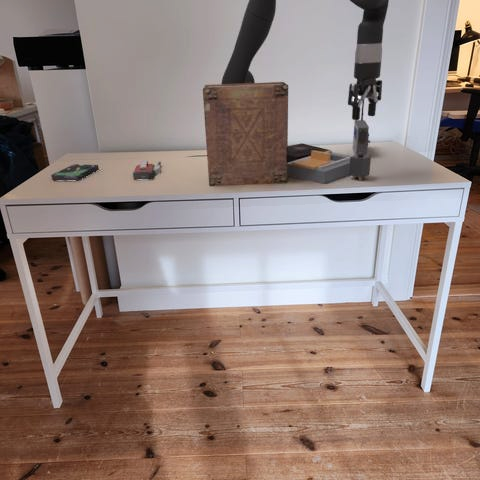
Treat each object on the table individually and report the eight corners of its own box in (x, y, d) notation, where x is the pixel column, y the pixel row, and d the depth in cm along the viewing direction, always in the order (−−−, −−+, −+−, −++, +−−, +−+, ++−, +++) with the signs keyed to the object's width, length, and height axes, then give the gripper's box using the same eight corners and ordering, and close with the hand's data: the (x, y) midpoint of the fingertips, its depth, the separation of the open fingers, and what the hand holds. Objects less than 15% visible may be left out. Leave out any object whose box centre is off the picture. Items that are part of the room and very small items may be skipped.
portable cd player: (300, 152, 180) (300, 143, 178) (330, 160, 167) (330, 150, 165) (268, 159, 172) (268, 149, 170) (296, 168, 158) (297, 157, 157)
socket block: (285, 174, 149) (285, 160, 147) (325, 162, 163) (325, 149, 161) (323, 183, 138) (324, 169, 136) (362, 169, 152) (363, 155, 150)
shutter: (292, 165, 145) (292, 155, 143) (310, 159, 151) (311, 149, 149) (314, 169, 139) (314, 159, 137) (332, 163, 145) (333, 153, 143)
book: (208, 186, 141) (201, 87, 128) (209, 178, 149) (203, 84, 137) (287, 183, 141) (288, 84, 128) (284, 175, 149) (284, 81, 137)
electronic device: (352, 148, 182) (355, 98, 174) (369, 148, 181) (373, 97, 172) (355, 158, 166) (359, 104, 158) (374, 158, 165) (379, 103, 157)
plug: (348, 178, 142) (350, 153, 139) (356, 175, 145) (358, 150, 142) (361, 181, 139) (363, 155, 136) (369, 178, 142) (371, 152, 139)
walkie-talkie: (158, 180, 149) (163, 165, 168) (157, 168, 148) (161, 154, 166) (132, 182, 149) (139, 167, 167) (130, 169, 147) (138, 155, 165)
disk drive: (74, 171, 166) (51, 182, 153) (73, 164, 165) (50, 174, 152) (99, 171, 164) (79, 182, 151) (98, 164, 163) (77, 175, 150)
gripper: (370, 59, 135) (365, 113, 141) (342, 62, 126) (339, 120, 133) (392, 59, 130) (387, 115, 136) (365, 62, 121) (361, 122, 128)
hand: (363, 117), depth 134 cm, fingers open, 8 cm apart
